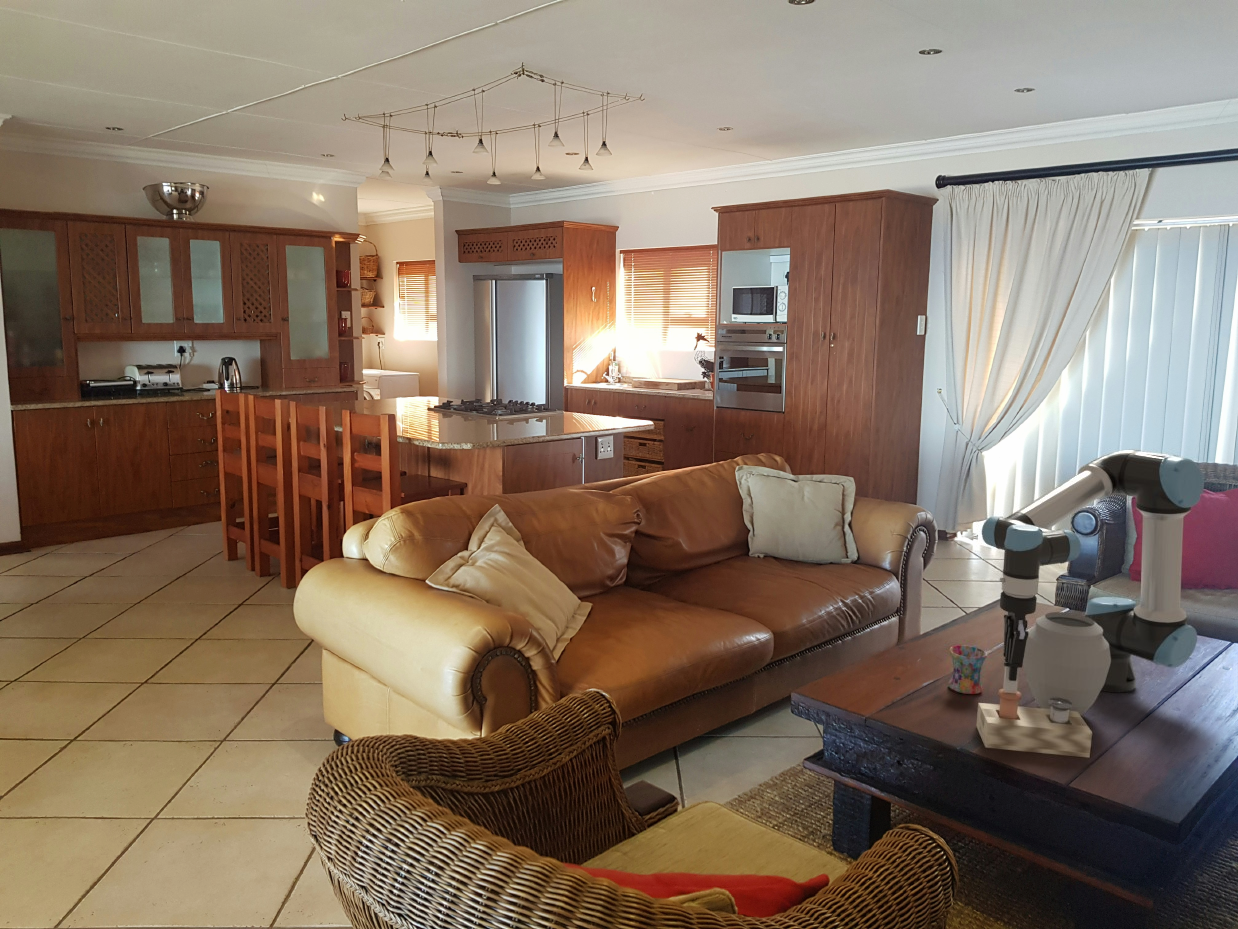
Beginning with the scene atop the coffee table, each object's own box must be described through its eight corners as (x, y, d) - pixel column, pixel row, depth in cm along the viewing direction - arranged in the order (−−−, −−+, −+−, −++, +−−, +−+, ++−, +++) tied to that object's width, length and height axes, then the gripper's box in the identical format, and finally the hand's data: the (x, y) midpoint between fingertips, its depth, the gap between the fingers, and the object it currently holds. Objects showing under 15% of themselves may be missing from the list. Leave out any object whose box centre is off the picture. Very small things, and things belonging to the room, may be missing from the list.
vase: (1100, 738, 214) (1111, 639, 210) (1011, 718, 224) (1020, 622, 220) (1107, 708, 230) (1117, 615, 226) (1024, 690, 240) (1032, 601, 236)
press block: (1075, 735, 215) (1077, 711, 214) (1089, 757, 204) (1092, 732, 203) (976, 726, 219) (978, 702, 218) (985, 747, 208) (987, 722, 207)
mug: (973, 700, 234) (977, 660, 232) (940, 689, 241) (942, 650, 239) (995, 687, 242) (998, 649, 240) (961, 677, 249) (964, 640, 247)
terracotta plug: (1015, 725, 214) (1018, 689, 213) (1020, 734, 209) (1023, 697, 208) (993, 723, 215) (996, 687, 213) (997, 732, 210) (1001, 696, 209)
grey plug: (1065, 734, 212) (1068, 698, 211) (1071, 743, 207) (1074, 707, 206) (1043, 732, 213) (1046, 696, 212) (1048, 741, 208) (1052, 705, 207)
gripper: (995, 584, 214) (987, 679, 218) (1007, 600, 201) (998, 701, 205) (1029, 586, 212) (1020, 682, 216) (1044, 603, 200) (1034, 705, 204)
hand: (1009, 691), depth 211 cm, fingers closed
